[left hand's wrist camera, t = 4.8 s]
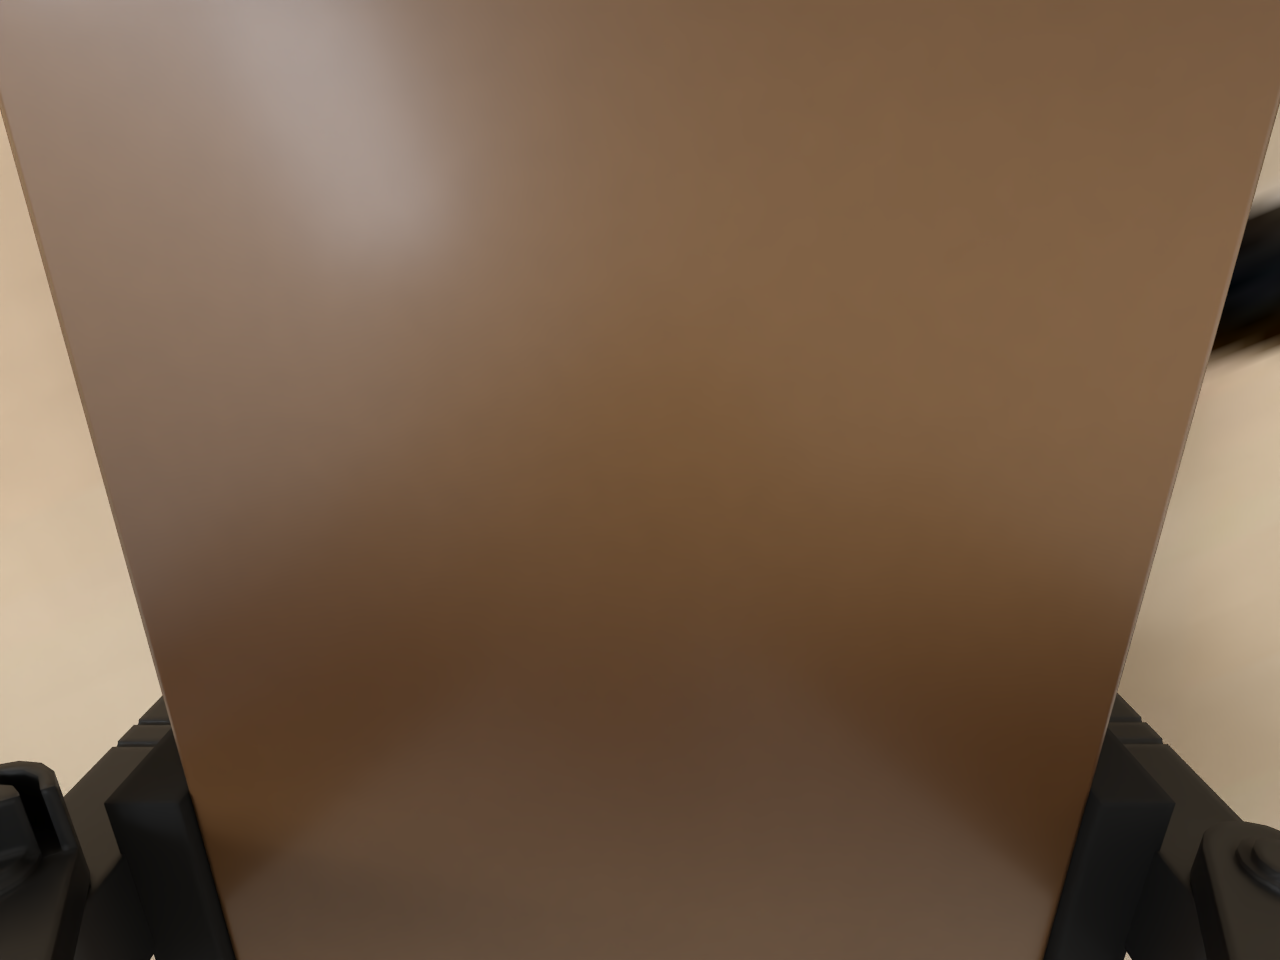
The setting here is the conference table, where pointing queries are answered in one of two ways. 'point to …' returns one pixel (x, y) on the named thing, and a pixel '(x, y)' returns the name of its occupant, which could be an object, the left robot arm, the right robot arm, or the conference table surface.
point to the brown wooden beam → (639, 441)
